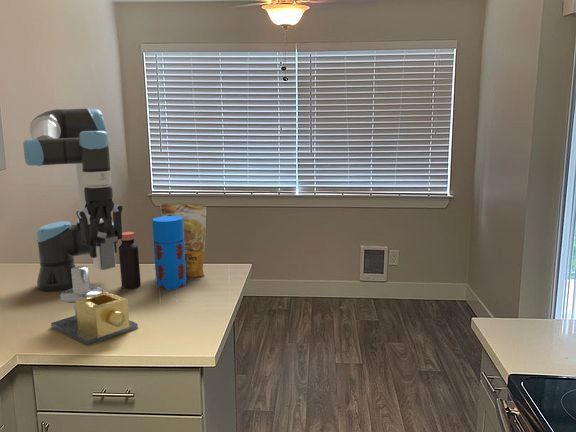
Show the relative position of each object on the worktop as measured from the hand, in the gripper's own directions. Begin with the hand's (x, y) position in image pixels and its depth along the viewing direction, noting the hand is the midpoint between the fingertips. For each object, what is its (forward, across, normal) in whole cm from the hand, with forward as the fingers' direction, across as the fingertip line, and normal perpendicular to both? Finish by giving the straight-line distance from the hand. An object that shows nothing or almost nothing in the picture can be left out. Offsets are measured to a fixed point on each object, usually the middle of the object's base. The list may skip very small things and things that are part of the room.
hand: (104, 266), depth 159 cm
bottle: (+19, +28, +30) cm, 45 cm away
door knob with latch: (+19, -3, +4) cm, 20 cm away
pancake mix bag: (+19, +50, +26) cm, 59 cm away
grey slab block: (0, 0, 0) cm, 0 cm away
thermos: (+19, +38, +19) cm, 46 cm away
